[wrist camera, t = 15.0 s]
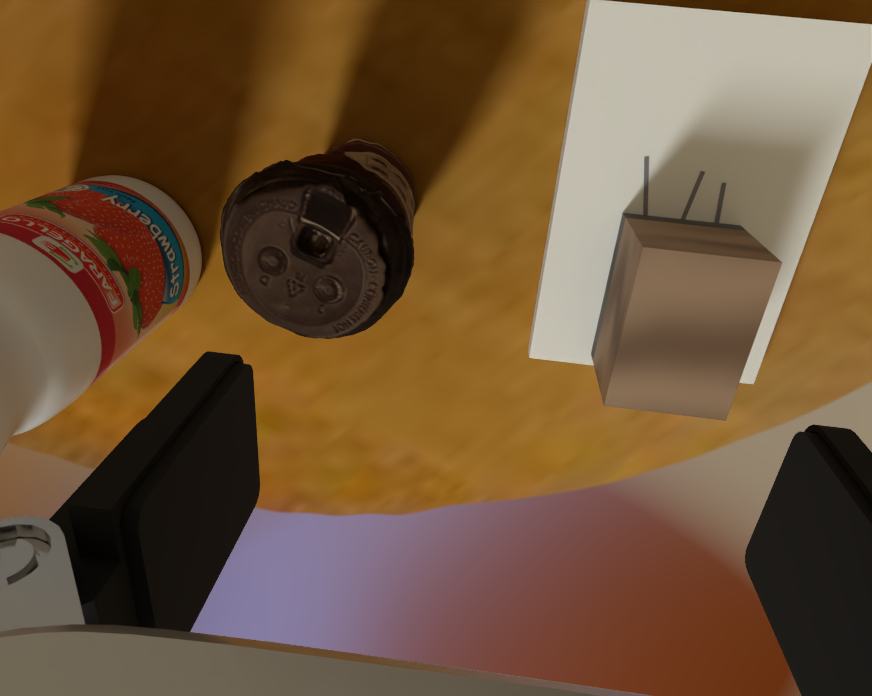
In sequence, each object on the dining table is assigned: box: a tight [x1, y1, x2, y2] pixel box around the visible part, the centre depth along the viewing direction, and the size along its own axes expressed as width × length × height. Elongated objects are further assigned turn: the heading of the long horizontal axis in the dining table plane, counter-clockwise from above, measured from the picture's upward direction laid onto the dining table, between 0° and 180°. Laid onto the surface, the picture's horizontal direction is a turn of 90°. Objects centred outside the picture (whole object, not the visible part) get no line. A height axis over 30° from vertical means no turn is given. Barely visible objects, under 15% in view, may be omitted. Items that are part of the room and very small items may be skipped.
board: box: [528, 0, 872, 384], centre depth 36 cm, size 20×14×2 cm
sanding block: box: [591, 213, 782, 421], centre depth 35 cm, size 9×6×6 cm
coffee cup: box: [220, 139, 416, 339], centre depth 32 cm, size 9×8×13 cm
